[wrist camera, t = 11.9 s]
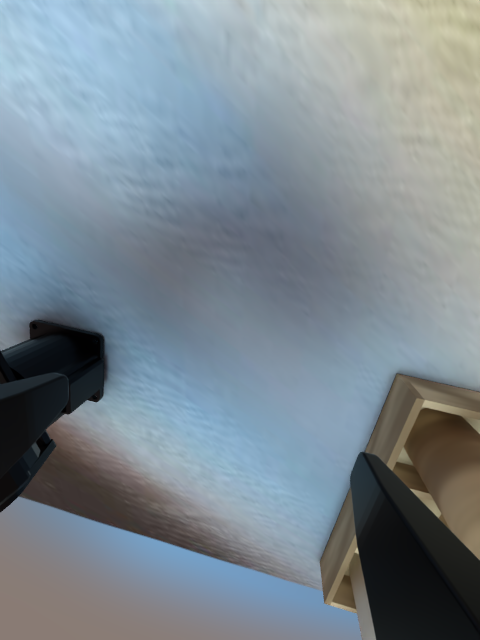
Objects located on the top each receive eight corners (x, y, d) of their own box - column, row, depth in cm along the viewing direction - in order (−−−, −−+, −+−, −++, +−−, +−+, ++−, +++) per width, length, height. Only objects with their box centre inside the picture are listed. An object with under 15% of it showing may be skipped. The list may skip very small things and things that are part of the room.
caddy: (319, 562, 27) (324, 603, 24) (396, 373, 20) (416, 397, 17) (397, 584, 26) (412, 630, 23) (504, 397, 19) (544, 427, 16)
